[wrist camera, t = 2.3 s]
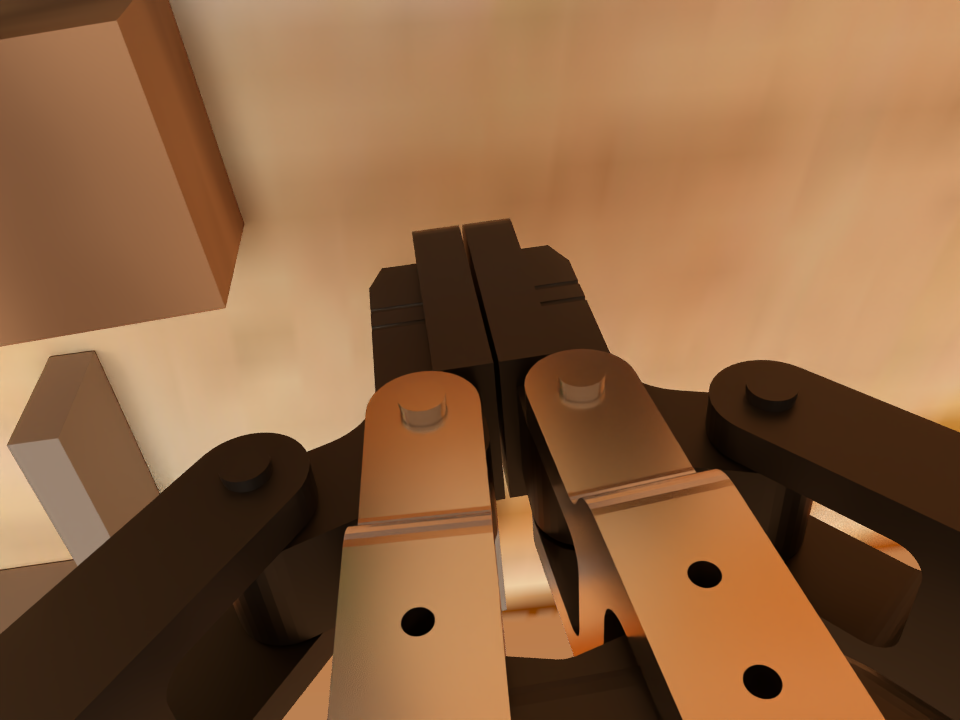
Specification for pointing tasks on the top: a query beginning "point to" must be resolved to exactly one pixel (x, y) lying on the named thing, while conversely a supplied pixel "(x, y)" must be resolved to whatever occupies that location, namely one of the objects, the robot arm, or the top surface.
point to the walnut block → (106, 172)
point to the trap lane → (81, 473)
